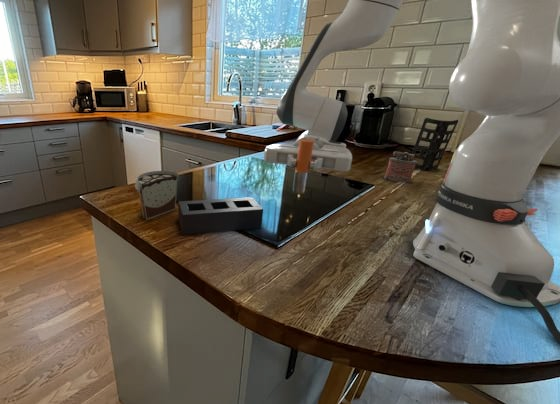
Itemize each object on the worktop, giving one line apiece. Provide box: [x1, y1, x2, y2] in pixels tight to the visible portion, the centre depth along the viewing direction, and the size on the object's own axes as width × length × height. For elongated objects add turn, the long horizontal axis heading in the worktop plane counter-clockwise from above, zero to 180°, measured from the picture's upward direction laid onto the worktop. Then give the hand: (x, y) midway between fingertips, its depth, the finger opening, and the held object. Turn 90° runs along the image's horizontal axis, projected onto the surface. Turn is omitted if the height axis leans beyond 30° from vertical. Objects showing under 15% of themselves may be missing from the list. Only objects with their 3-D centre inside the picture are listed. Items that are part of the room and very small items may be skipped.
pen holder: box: [177, 196, 264, 236], centre depth 71 cm, size 8×19×5 cm, turn 101°
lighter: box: [383, 151, 418, 183], centre depth 104 cm, size 8×3×10 cm, turn 58°
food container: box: [134, 170, 180, 221], centre depth 76 cm, size 12×6×10 cm, turn 134°
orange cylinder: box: [292, 139, 314, 194], centre depth 68 cm, size 3×3×12 cm
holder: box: [411, 117, 459, 172], centre depth 116 cm, size 11×8×20 cm
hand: (302, 165), depth 67 cm, fingers closed on orange cylinder, 3 cm apart
